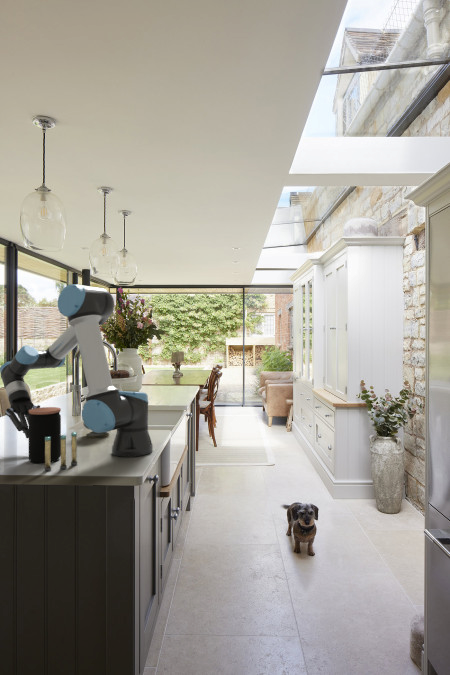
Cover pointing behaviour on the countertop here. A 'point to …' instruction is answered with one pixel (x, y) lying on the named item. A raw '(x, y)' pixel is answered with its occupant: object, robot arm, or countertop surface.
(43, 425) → the coffee jar
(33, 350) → the robot arm
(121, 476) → the countertop surface
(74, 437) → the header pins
